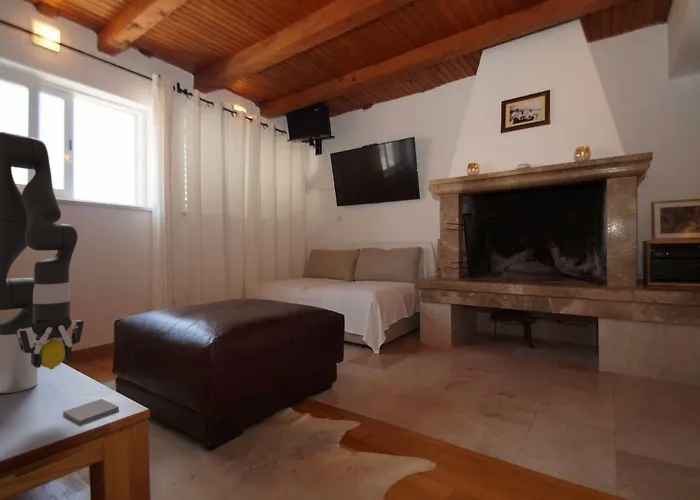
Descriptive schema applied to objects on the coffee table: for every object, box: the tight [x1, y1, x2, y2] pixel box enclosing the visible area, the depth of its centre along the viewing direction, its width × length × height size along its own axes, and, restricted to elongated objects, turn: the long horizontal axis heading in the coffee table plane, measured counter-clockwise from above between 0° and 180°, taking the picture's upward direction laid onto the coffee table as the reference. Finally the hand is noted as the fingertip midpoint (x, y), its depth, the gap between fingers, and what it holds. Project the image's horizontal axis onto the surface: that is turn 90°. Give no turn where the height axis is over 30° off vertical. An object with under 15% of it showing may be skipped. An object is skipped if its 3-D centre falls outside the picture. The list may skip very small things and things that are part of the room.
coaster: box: [62, 398, 120, 426], centre depth 95 cm, size 9×9×1 cm
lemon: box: [39, 338, 65, 370], centre depth 96 cm, size 6×6×8 cm
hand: (51, 363), depth 96 cm, fingers closed on lemon, 5 cm apart
